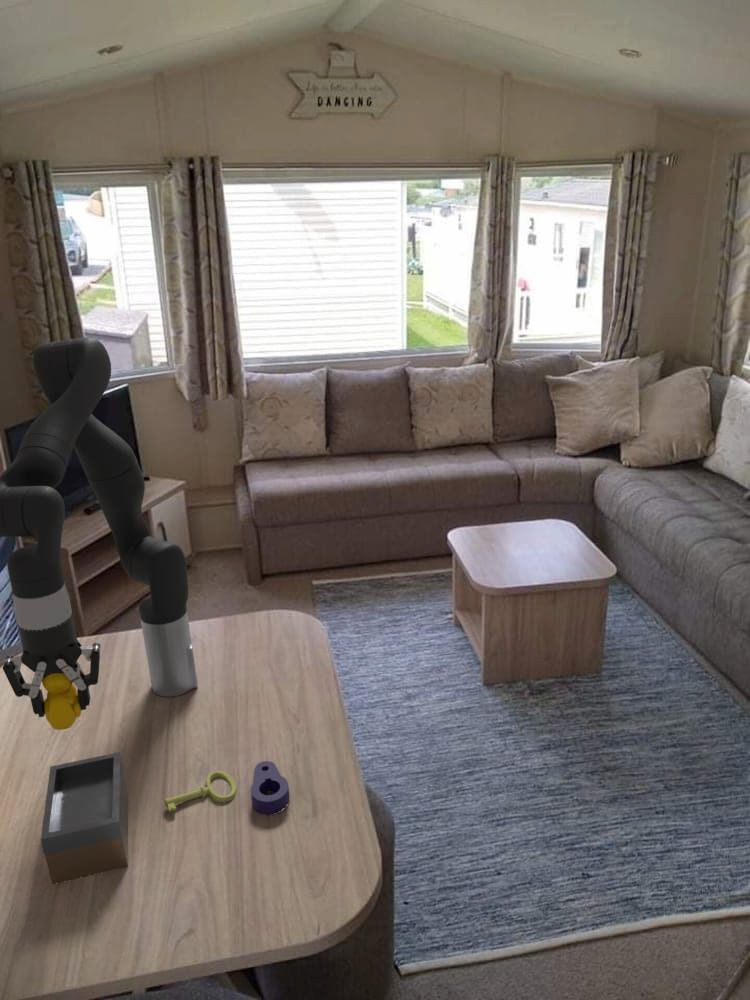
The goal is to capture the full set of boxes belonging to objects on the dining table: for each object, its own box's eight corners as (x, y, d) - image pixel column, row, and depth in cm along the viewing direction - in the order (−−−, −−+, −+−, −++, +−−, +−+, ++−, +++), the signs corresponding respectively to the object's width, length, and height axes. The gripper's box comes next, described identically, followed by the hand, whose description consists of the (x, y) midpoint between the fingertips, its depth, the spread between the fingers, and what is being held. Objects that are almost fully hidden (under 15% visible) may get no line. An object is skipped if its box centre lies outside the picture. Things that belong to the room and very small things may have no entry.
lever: (292, 811, 128) (291, 797, 127) (254, 819, 127) (253, 805, 126) (281, 763, 139) (280, 749, 138) (246, 770, 138) (245, 756, 136)
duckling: (47, 701, 124) (37, 648, 120) (83, 694, 126) (73, 641, 122) (45, 744, 114) (33, 688, 110) (83, 736, 116) (73, 680, 112)
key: (162, 810, 129) (160, 800, 129) (221, 771, 138) (220, 762, 137) (186, 832, 125) (184, 822, 124) (246, 791, 133) (245, 782, 132)
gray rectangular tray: (128, 793, 133) (119, 751, 129) (128, 866, 118) (119, 821, 115) (60, 809, 130) (50, 766, 126) (52, 885, 116) (40, 839, 112)
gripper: (97, 596, 118) (112, 689, 124) (-4, 609, 114) (17, 704, 121) (94, 620, 111) (110, 716, 117) (-14, 635, 108) (9, 734, 114)
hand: (63, 710), depth 119 cm, fingers closed on duckling, 5 cm apart
